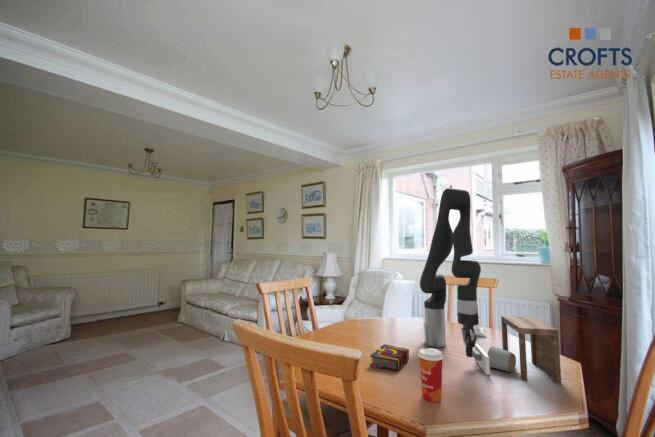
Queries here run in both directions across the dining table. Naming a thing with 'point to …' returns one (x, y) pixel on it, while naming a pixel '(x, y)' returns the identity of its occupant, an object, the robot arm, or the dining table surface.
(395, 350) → the brown patterned box
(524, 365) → the brown wooden small table
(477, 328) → the seated beast figurine
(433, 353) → the paper cup
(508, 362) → the ceramic mug
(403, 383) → the dining table surface
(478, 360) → the pull-out front
